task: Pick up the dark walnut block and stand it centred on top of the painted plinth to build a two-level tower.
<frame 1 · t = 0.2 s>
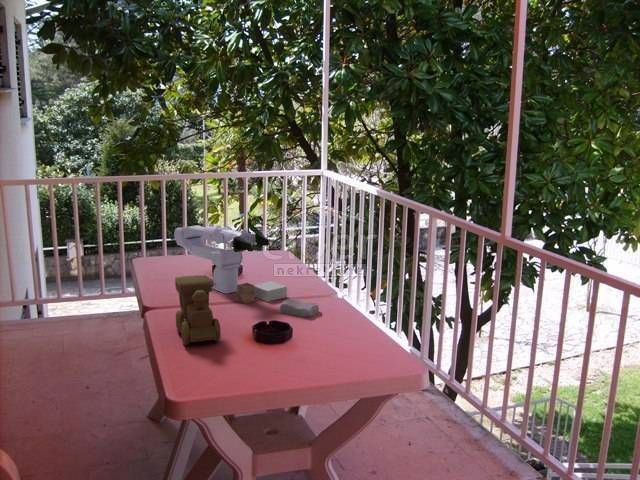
hand: (259, 244, 231), 21 cm above the table, tool horizontal, fingers open, 7 cm apart
stone block: (300, 312, 227), on the table
walnut block: (245, 301, 237), on the table
plinth: (269, 296, 243), on the table
wooden toy train: (197, 337, 202), on the table
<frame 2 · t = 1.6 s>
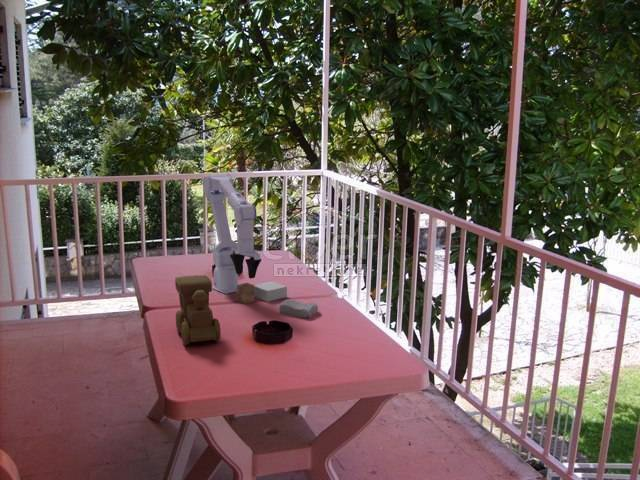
hand: (245, 275, 235), 9 cm above the table, tool pointing down, fingers open, 7 cm apart
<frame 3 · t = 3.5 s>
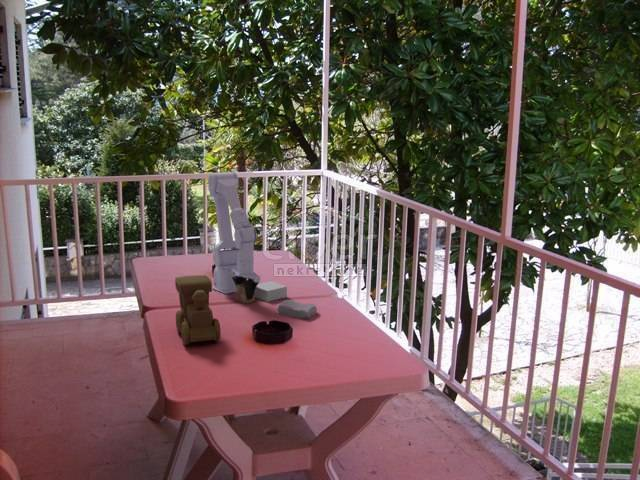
hand: (245, 297, 237), 1 cm above the table, tool pointing down, fingers closed on walnut block, 4 cm apart
walnut block: (245, 301, 237), on the table, touching gripper
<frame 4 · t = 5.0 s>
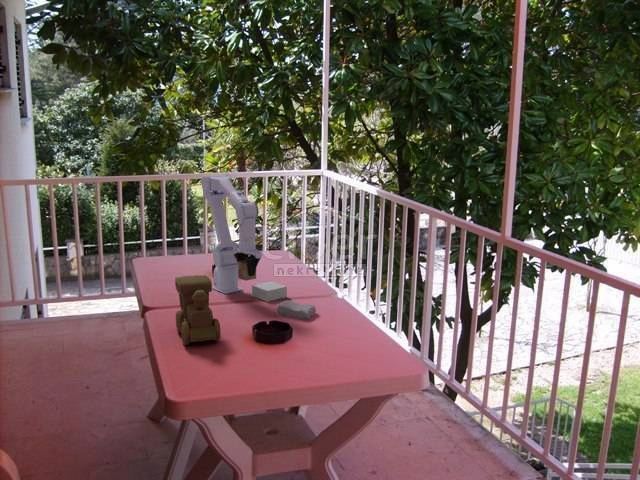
hand: (247, 274, 235), 10 cm above the table, tool pointing down, fingers closed on walnut block, 4 cm apart
walnut block: (247, 278, 236), point 8 cm above the table, touching gripper
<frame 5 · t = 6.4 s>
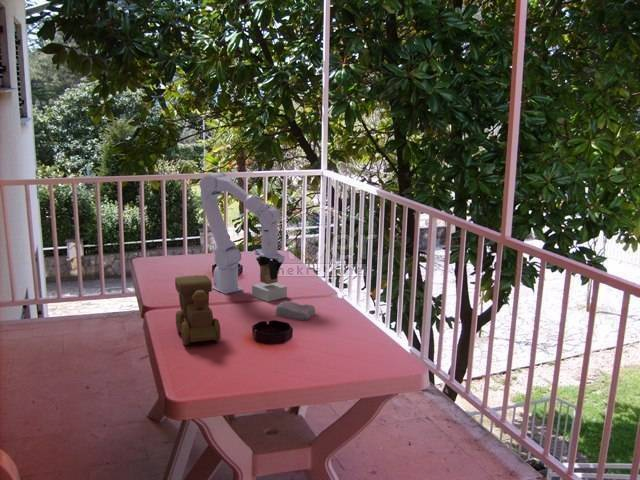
hand: (269, 277, 241), 7 cm above the table, tool pointing down, fingers closed on walnut block, 4 cm apart
walnut block: (268, 281, 242), point 6 cm above the table, touching gripper
when the fingers open (7 cm above the table, at t = 7.0 s): walnut block drops 2 cm, resting on plinth.
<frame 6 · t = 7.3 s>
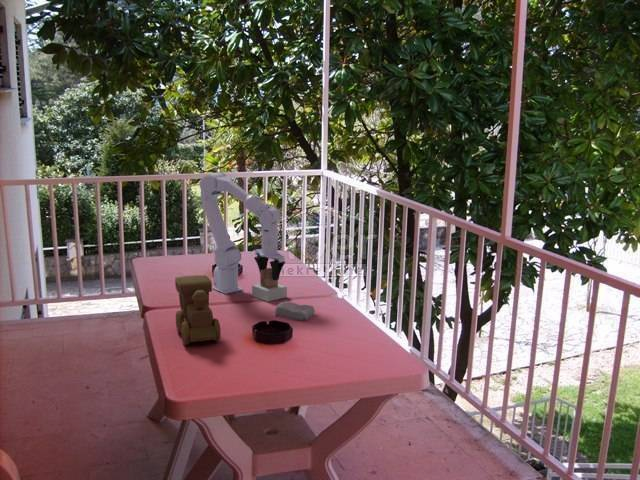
hand: (269, 277, 241), 7 cm above the table, tool pointing down, fingers open, 7 cm apart
walnut block: (269, 286, 242), point 4 cm above the table, touching plinth
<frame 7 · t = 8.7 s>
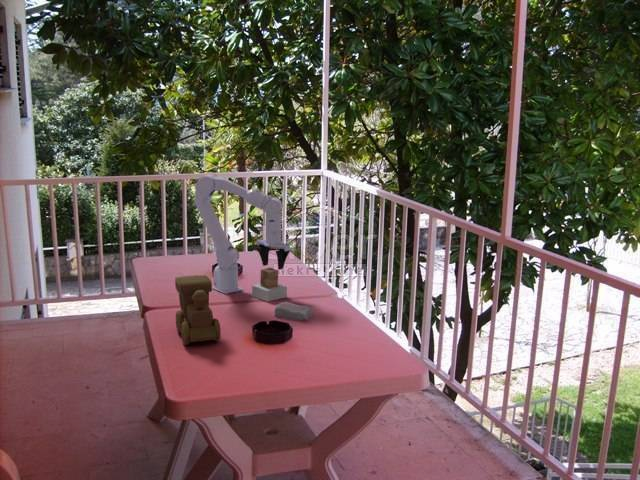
hand: (273, 266, 246), 10 cm above the table, tool pointing down, fingers open, 7 cm apart
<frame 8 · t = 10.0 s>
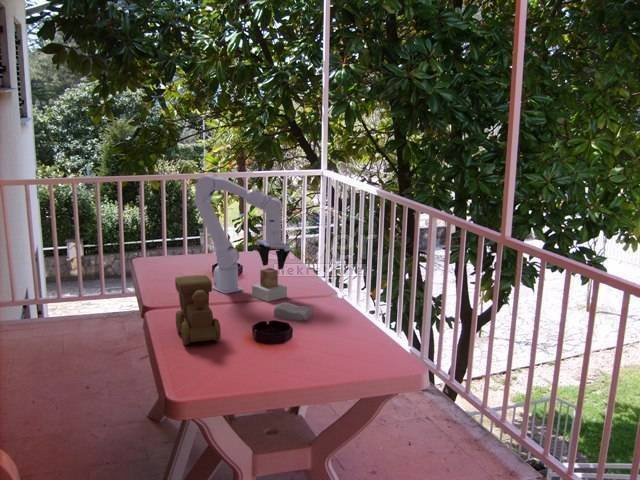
hand: (273, 266, 246), 10 cm above the table, tool pointing down, fingers open, 7 cm apart
at the end: walnut block 0.2 cm off-centre on the plinth, point 4.0 cm above the plinth's base; walnut block tilted 0°; the gripper is holding nothing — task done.
